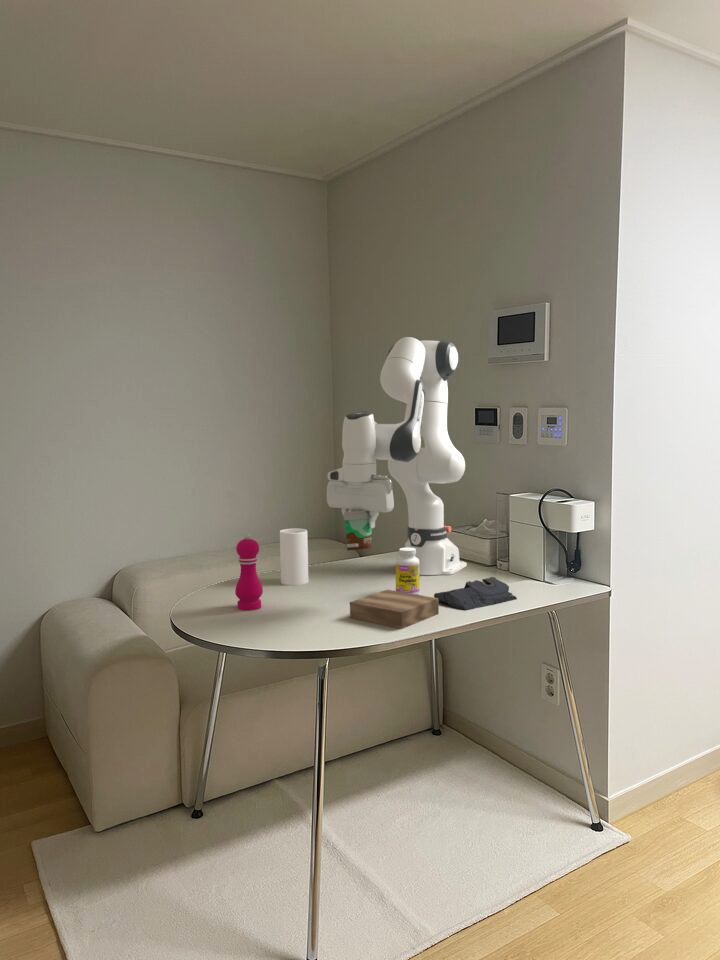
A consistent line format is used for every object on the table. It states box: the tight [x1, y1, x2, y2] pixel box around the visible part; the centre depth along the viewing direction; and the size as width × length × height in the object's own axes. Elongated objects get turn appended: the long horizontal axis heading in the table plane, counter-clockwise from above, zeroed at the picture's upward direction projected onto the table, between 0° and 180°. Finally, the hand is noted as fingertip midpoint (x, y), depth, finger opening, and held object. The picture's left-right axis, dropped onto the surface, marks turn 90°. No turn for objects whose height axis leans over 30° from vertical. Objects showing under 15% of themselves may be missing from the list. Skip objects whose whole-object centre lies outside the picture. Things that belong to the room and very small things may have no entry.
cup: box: [279, 527, 309, 586], centre depth 231 cm, size 8×8×16 cm
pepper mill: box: [234, 532, 264, 611], centre depth 204 cm, size 7×7×20 cm
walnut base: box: [349, 589, 440, 630], centre depth 195 cm, size 16×16×4 cm
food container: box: [343, 510, 373, 551], centre depth 203 cm, size 12×6×10 cm, turn 163°
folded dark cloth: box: [433, 576, 518, 611], centre depth 210 cm, size 15×22×5 cm
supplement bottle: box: [395, 547, 420, 595], centre depth 216 cm, size 7×7×13 cm
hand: (360, 526), depth 203 cm, fingers closed on food container, 6 cm apart
